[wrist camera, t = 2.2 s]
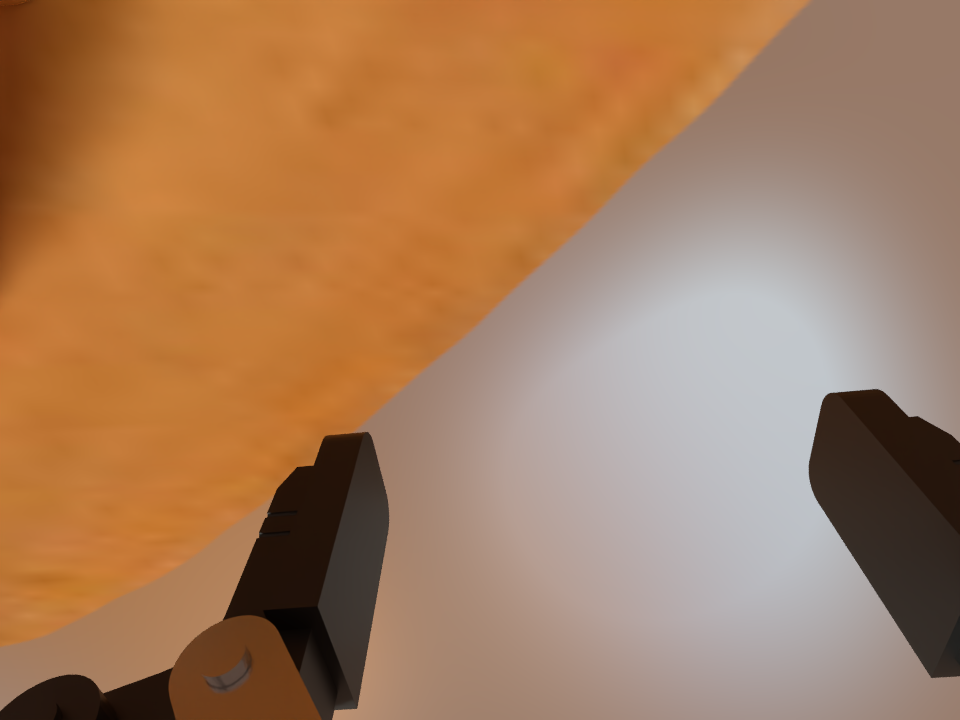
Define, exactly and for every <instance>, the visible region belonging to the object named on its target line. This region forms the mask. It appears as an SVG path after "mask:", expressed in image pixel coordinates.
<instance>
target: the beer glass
mask: <svg viewBox="0 0 960 720" xmlns="http://www.w3.org/2000/svg"><path fill="white" fill-rule="evenodd" d="M27 1H29V0H0V6H9V5H17V4H21V3H24V2H27Z"/></svg>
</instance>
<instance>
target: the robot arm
mask: <svg viewBox="0 0 960 720" xmlns="http://www.w3.org/2000/svg"><path fill="white" fill-rule="evenodd" d="M809 479H810V484H811V487H812V491H813V493H814V496H815V498H816V500H817V501H818V503H819V504H820V506H821V508H822V509H823V510H824V512H825V514H826V515H827V517H828V518H829V520H830V521H831V523H832V525H833V526H834V527H835V529H836V531H837V532H838V534H839V535H840V537H841V539H842V540H843V542H844V543H845V545H846V546H847V548H848V549H849V551H850V552H851V554H852V556H853V557H854V559H855V560H856V562H857V563H858V565H859V566H860V568H861V569H862V571H863V573H864V574H865V576H866V577H867V579H868V580H869V582H870V583H871V585H872V587H873V588H874V590H875V591H876V593H877V594H878V596H879V597H880V599H881V600H882V602H883V603H884V605H885V607H886V608H887V610H888V611H889V613H890V614H891V616H892V618H893V619H894V621H895V622H896V624H897V625H898V627H899V628H900V630H901V632H902V633H903V635H904V636H905V638H906V639H907V641H908V642H909V644H910V645H911V647H912V649H913V650H914V652H915V653H916V655H917V656H918V658H919V659H920V661H921V662H922V664H923V666H924V667H925V669H926V670H927V672H928V673H929V675H930V676H931V678H936V677H954V676H960V443H959V442H958V441H957V440H956V439H955V438H954V437H953V436H952V435H950V434H949V433H947V432H945V431H943V430H941V429H940V428H938V427H936V426H934V425H932V424H930V423H929V422H927V421H925V420H923V419H921V418H920V417H918V416H916V417H908V416H907V415H906V414H905V413H904V412H903V411H902V410H901V409H900V408H899V407H898V406H897V404H896V403H895V402H894V401H893V400H892V399H891V398H890V397H889V396H888V395H886V393H884V392H883V391H881V390H878V389H872V390H860V391H849V392H838V393H829V394H828V395H826V396H825V398H824V399H823V402H822V405H821V409H820V414H819V419H818V423H817V428H816V433H815V437H814V442H813V447H812V452H811V457H810V461H809ZM267 514H268V517H267V518H265V520H264V522H263V525H262V527H261V529H260V532H259V538H257V539H256V542H255V544H254V547H253V549H252V552H251V554H250V557H249V559H248V561H247V564H246V566H245V568H244V571H243V573H242V576H241V578H240V581H239V583H238V586H237V588H236V591H235V593H234V595H233V598H232V600H231V603H230V605H229V607H228V610H227V612H226V615H225V617H224V619H223V621H221V622H219V623H217V624H215V625H213V626H211V627H210V628H208V629H206V630H205V631H203V632H202V633H201V634H200V635H198V636H197V637H196V638H195V639H194V640H193V641H192V642H191V643H190V644H189V645H188V646H187V647H186V648H185V649H184V651H183V652H182V653H181V655H180V656H179V658H178V660H177V661H176V663H175V665H174V667H173V668H171V669H168V670H166V671H163V672H161V673H159V674H156V675H153V676H150V677H148V678H145V679H142V680H140V681H137V682H134V683H131V684H128V685H125V686H123V687H120V688H117V689H114V690H112V691H109V692H106V693H102V692H101V691H100V689H99V688H98V687H97V685H96V684H95V683H94V682H93V681H92V680H91V679H89V678H87V677H85V676H81V675H64V676H59V677H55V678H52V679H49V680H46V681H44V682H42V683H40V684H38V685H35V686H34V687H32V688H30V689H28V690H27V691H25V692H24V693H22V694H21V695H19V696H18V697H16V698H15V699H14V700H13V701H11V702H10V703H9V704H8V705H7V706H5V707H4V708H3V709H2V710H1V711H0V720H332V718H333V713H334V710H342V709H357V706H358V700H359V695H360V689H361V683H362V677H363V672H364V666H365V660H366V655H367V649H368V643H369V638H370V631H371V626H372V621H373V615H374V609H375V604H376V598H377V592H378V586H379V580H380V575H381V569H382V563H383V557H384V552H385V546H386V541H387V535H388V527H389V508H388V499H387V494H386V490H385V486H384V482H383V479H382V475H381V471H380V467H379V463H378V459H377V455H376V451H375V448H374V444H373V440H372V437H371V435H370V434H369V433H368V432H362V433H351V434H339V435H328V436H325V437H324V439H323V441H322V444H321V446H320V449H319V452H318V455H317V458H316V461H315V463H314V466H304V467H297V468H296V469H295V470H294V471H293V472H292V473H291V474H290V475H289V477H288V478H287V479H286V480H285V481H284V482H283V483H282V484H281V485H280V486H279V487H278V488H277V490H276V493H275V495H274V498H273V500H272V503H271V505H270V508H269V510H268V512H267Z"/></svg>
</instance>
